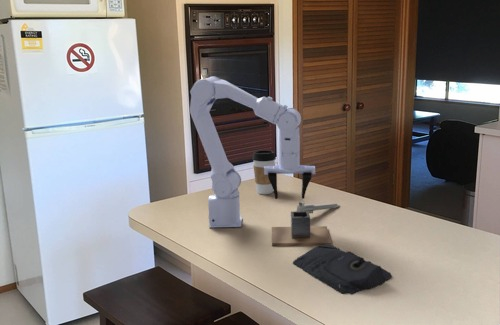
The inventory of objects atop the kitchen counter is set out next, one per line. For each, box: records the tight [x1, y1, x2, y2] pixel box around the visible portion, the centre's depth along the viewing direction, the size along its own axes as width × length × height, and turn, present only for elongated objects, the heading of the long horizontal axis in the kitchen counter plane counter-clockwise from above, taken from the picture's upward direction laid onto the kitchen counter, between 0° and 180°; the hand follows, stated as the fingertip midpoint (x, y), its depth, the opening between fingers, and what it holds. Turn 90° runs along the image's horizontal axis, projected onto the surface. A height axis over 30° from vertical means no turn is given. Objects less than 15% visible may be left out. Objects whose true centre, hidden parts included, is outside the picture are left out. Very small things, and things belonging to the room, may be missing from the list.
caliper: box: [296, 201, 340, 214], centre depth 165 cm, size 20×1×6 cm, turn 134°
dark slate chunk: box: [292, 244, 393, 295], centre depth 126 cm, size 15×22×5 cm
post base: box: [271, 225, 333, 247], centre depth 147 cm, size 16×12×5 cm
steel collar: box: [290, 210, 311, 238], centre depth 146 cm, size 5×5×6 cm
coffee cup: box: [252, 149, 277, 195], centre depth 187 cm, size 8×8×15 cm
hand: (289, 197), depth 152 cm, fingers open, 7 cm apart
